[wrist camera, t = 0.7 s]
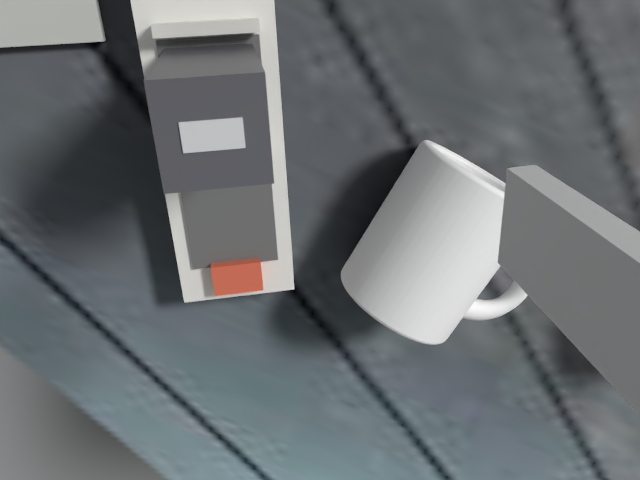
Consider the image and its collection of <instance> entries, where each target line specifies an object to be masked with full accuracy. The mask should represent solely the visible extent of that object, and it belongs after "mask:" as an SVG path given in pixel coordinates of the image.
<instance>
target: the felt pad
mask: <svg viewBox="0 0 640 480" xmlns="http://www.w3.org/2000/svg"><path fill="white" fill-rule="evenodd" d="M105 40H106V38H105V33H104V28H103V23H102V18H101V13H100V8H99V3H98V0H0V48H2V47H19V46H36V45H53V44H69V43H86V42H103V41H105Z"/></svg>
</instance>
